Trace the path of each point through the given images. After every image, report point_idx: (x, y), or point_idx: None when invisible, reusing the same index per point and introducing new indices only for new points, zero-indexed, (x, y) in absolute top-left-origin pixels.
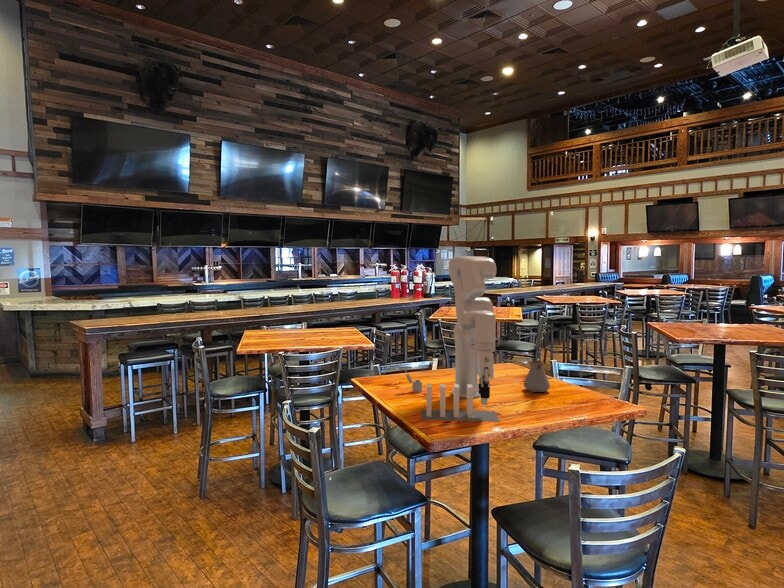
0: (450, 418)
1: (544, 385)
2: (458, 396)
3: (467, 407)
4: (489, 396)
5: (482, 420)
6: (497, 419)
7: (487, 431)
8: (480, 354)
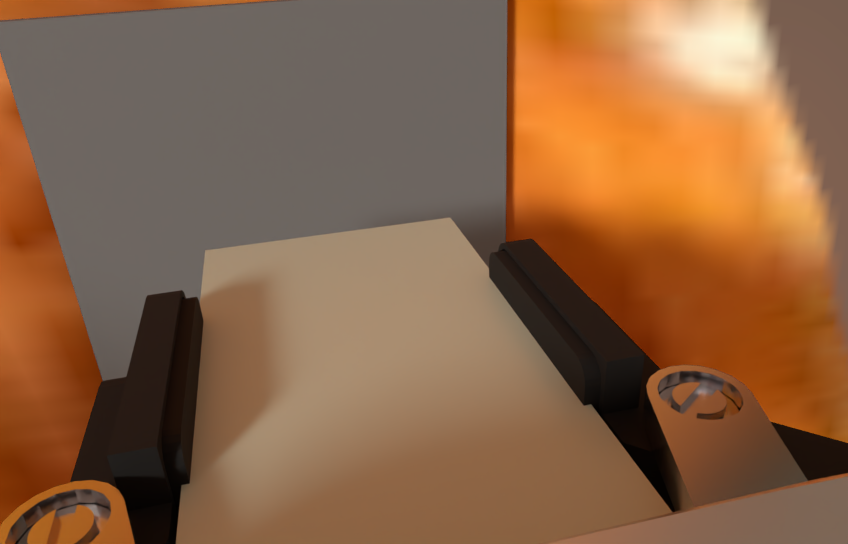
0: None
1: None
2: None
3: None
4: (541, 250)
5: (481, 209)
6: (419, 12)
7: (769, 148)
8: None
